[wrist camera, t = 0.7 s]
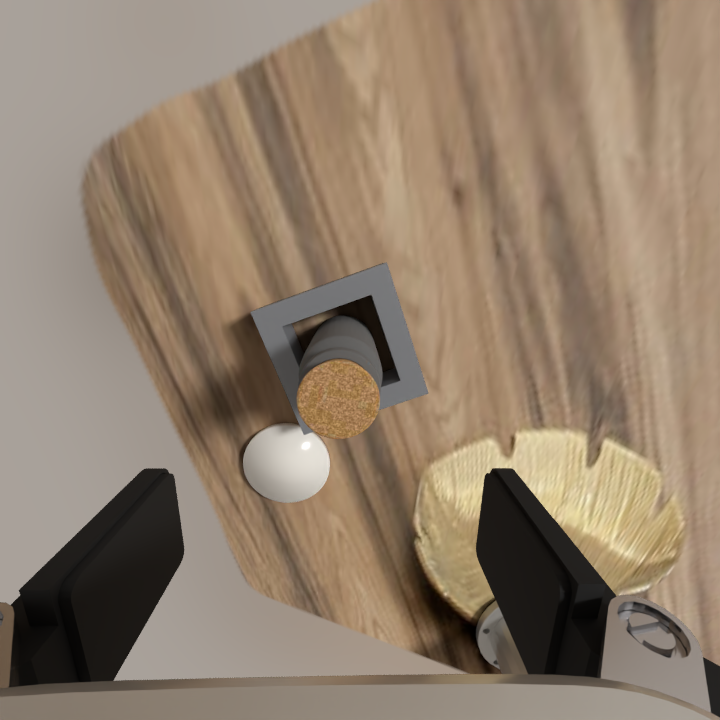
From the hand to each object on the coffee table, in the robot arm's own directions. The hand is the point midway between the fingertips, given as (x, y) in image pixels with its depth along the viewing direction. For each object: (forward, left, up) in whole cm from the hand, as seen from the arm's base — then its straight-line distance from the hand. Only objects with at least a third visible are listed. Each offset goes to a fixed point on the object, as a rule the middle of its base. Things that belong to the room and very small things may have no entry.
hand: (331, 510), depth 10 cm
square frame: (0, 0, -24) cm, 24 cm away
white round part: (-10, +10, -24) cm, 28 cm away
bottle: (0, 0, -24) cm, 25 cm away
